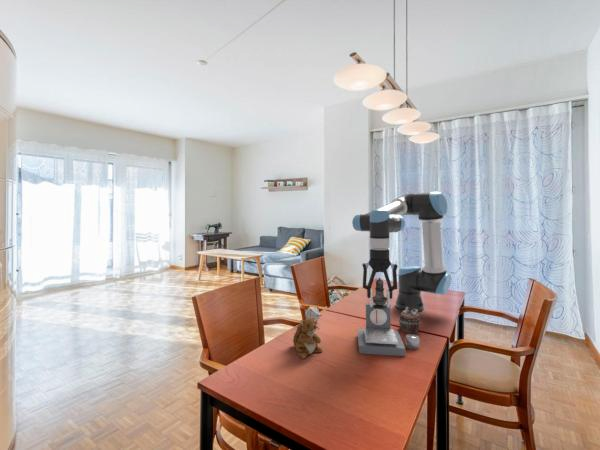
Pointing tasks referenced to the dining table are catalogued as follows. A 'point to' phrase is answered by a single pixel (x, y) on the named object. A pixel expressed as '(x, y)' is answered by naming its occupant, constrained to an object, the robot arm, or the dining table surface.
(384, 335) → the pan
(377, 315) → the scale base
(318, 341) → the stuffed squirrel
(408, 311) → the cupcake
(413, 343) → the spacer
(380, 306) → the dark grey tall piece
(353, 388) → the dining table surface
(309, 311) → the game die
